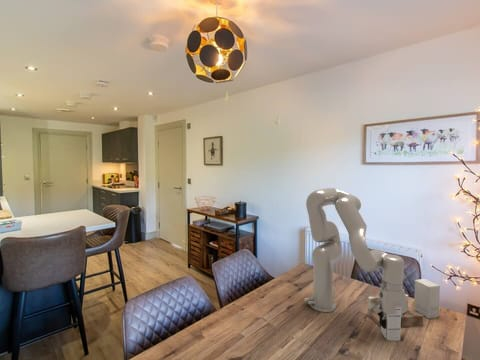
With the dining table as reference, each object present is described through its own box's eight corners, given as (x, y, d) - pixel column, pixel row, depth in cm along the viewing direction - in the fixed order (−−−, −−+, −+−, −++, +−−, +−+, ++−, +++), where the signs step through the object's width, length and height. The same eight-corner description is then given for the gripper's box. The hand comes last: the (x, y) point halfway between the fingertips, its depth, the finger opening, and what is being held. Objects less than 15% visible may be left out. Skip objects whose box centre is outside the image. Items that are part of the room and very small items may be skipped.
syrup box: (400, 340, 109) (402, 307, 108) (386, 340, 109) (387, 307, 108) (393, 331, 114) (394, 299, 113) (379, 331, 114) (380, 299, 113)
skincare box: (439, 317, 125) (441, 285, 124) (427, 319, 123) (429, 287, 122) (423, 307, 133) (425, 277, 132) (412, 309, 132) (414, 279, 130)
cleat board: (382, 328, 116) (383, 309, 116) (367, 314, 127) (368, 296, 126) (422, 325, 119) (424, 306, 118) (405, 311, 129) (406, 294, 129)
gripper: (379, 290, 105) (377, 333, 106) (418, 288, 107) (415, 330, 109) (367, 282, 112) (366, 322, 114) (404, 279, 115) (402, 319, 116)
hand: (390, 325), depth 111 cm, fingers closed on syrup box, 6 cm apart
